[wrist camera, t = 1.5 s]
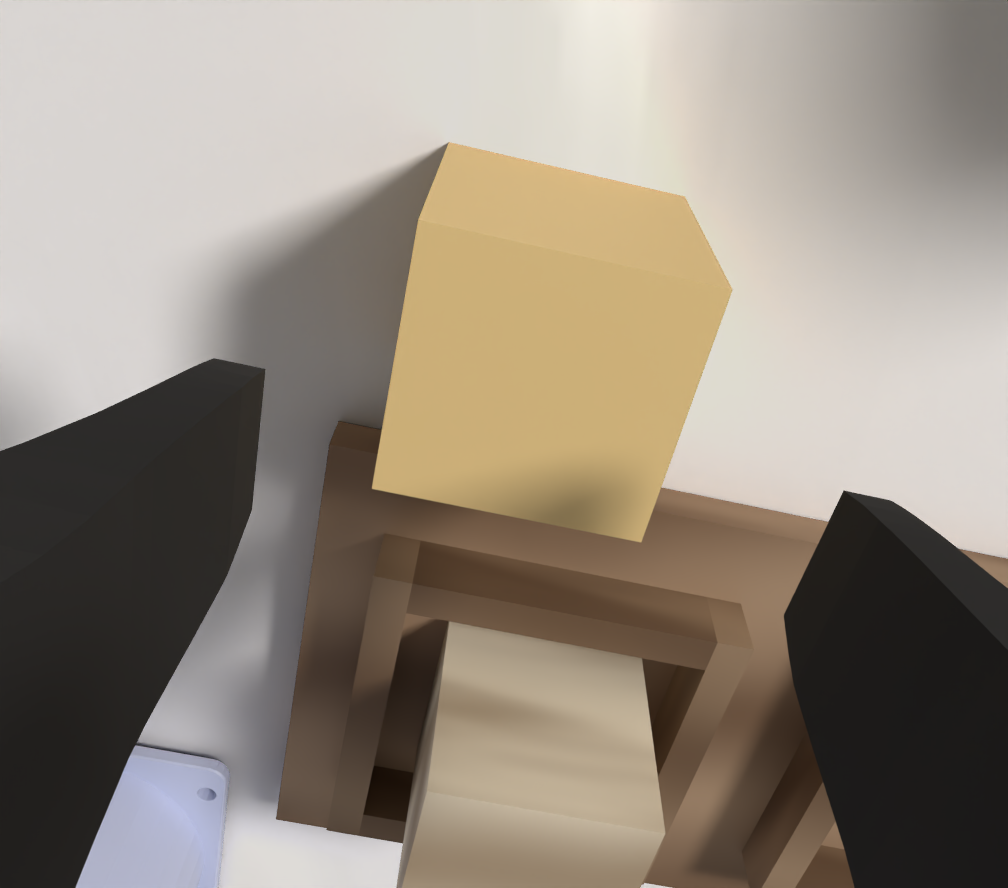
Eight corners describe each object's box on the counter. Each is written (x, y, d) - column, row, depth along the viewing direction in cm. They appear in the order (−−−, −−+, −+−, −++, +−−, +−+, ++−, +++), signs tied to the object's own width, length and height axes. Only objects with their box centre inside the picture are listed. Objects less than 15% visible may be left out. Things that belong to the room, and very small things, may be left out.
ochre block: (618, 402, 20) (641, 542, 15) (409, 358, 19) (371, 488, 15) (684, 195, 17) (732, 289, 13) (449, 141, 17) (417, 219, 13)
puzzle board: (1355, 975, 28) (1538, 1215, 23) (285, 788, 26) (219, 1009, 21) (1684, 698, 22) (2031, 935, 17) (338, 420, 20) (266, 600, 15)
